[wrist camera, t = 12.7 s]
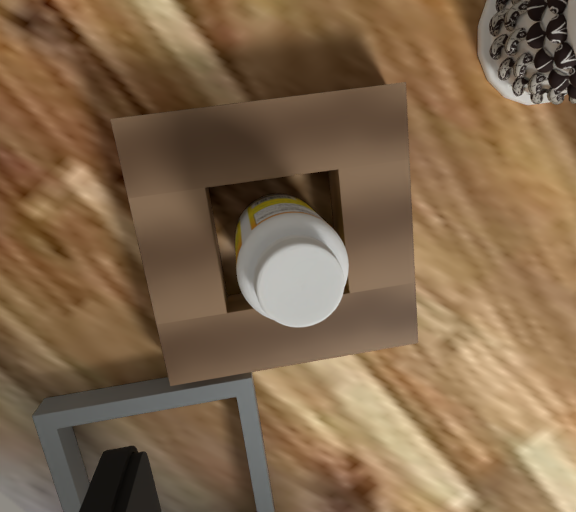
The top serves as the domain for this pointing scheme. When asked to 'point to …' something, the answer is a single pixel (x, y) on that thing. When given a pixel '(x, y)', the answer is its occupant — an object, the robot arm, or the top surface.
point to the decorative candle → (529, 49)
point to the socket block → (258, 166)
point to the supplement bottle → (289, 261)
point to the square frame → (137, 400)
